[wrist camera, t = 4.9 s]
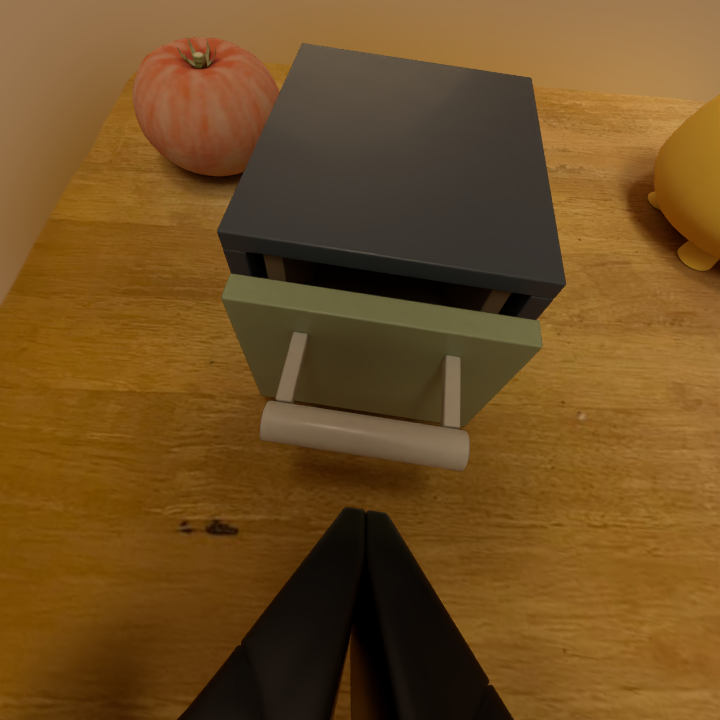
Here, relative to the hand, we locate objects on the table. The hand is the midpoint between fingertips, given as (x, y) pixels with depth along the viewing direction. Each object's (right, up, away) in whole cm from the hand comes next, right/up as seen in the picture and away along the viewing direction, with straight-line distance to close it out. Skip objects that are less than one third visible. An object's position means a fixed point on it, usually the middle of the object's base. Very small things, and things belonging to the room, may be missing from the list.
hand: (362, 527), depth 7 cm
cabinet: (+1, +8, +19) cm, 21 cm away
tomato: (-12, +21, +25) cm, 34 cm away
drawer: (+1, +4, +16) cm, 17 cm away
